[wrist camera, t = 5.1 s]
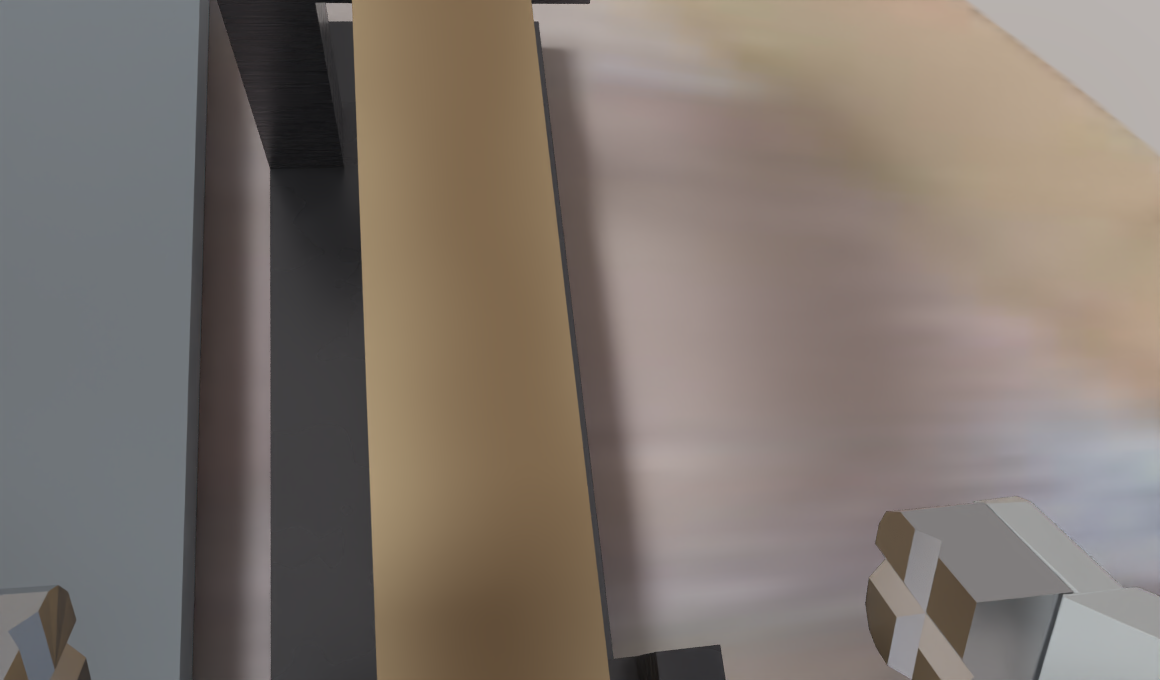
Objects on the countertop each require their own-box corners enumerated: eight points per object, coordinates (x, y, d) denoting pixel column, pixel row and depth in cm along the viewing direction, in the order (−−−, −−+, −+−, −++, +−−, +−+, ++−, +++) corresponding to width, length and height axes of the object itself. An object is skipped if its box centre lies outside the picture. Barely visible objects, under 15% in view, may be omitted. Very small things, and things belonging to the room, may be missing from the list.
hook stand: (280, 945, 21) (102, 1220, 10) (276, 47, 29) (176, -355, 18) (631, 889, 22) (823, 1077, 11) (534, 46, 30) (590, -328, 19)
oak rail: (400, 981, 14) (390, 1052, 11) (353, -176, 21) (340, -309, 18) (606, 946, 14) (648, 1007, 11) (489, -170, 21) (496, -300, 19)
